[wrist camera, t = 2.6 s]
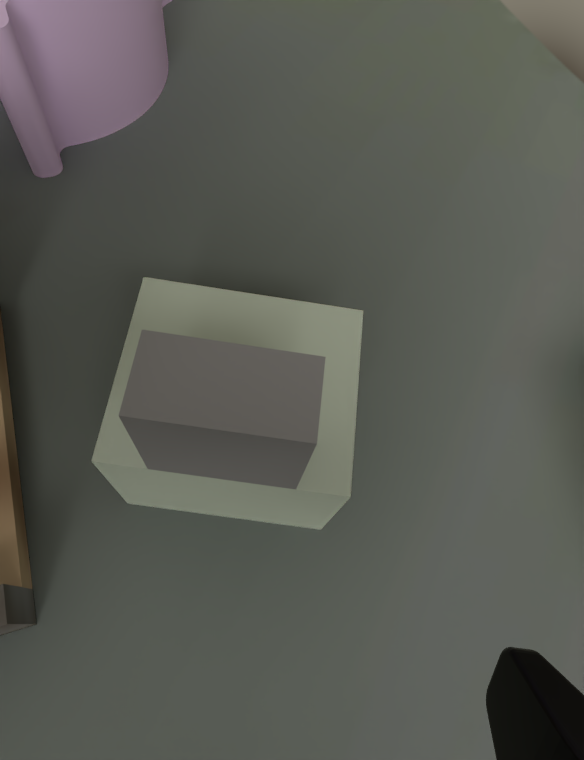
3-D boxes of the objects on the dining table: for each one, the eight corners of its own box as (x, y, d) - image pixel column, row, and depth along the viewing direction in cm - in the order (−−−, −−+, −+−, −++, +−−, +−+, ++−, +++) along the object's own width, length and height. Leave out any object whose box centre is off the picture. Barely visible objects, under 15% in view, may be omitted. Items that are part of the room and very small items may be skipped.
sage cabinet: (320, 529, 19) (389, 453, 11) (128, 504, 19) (42, 405, 11) (333, 381, 22) (398, 225, 13) (164, 357, 22) (118, 180, 13)
